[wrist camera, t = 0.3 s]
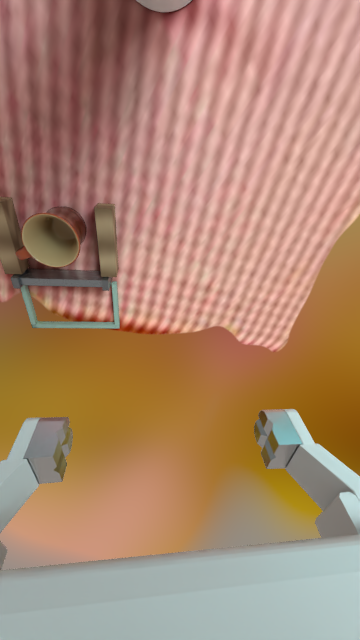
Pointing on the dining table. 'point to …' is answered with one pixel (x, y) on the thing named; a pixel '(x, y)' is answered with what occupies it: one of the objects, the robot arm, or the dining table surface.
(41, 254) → the mug
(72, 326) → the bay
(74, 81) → the dining table surface
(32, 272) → the gate
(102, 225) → the wooden blocks
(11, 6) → the dining table surface
